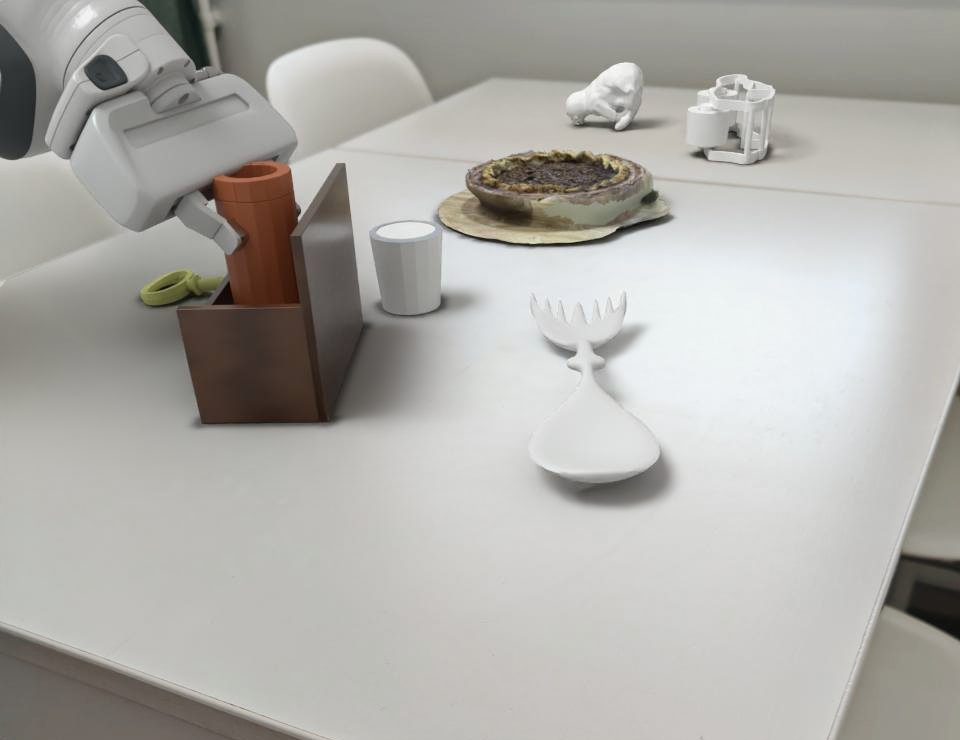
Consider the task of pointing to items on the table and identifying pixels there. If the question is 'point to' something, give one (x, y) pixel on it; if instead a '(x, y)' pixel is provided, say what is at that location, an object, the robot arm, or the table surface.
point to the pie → (552, 197)
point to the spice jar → (260, 232)
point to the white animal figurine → (609, 96)
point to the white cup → (408, 265)
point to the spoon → (589, 406)
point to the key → (177, 287)
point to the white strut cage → (731, 119)
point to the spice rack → (283, 328)
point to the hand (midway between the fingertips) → (267, 233)
